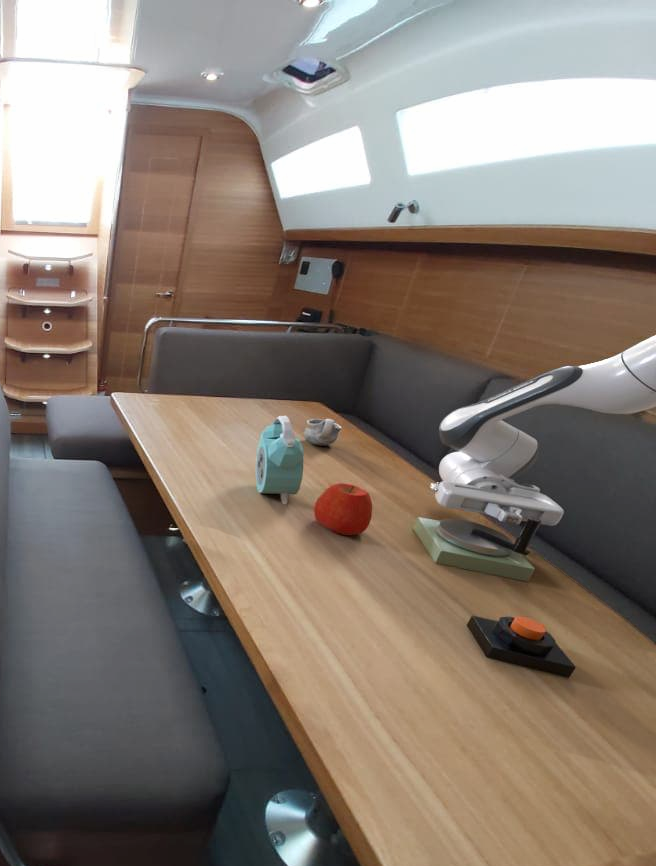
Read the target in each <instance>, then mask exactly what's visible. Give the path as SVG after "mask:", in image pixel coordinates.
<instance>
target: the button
mask: <svg viewBox="0 0 656 866" xmlns="http://www.w3.org/2000/svg"><path fill="white" fill-rule="evenodd" d="M514 618H515V619H514V621H513V622H512V624H511V626H510V628H511V629H512V630H513V631H515V632H516V633H517V634H519V635H521V636H524V637H526V638H528V639H532V640H537V641H539V640H541V638H542V637H543V635H544V634H545V632H546V631H547V628H546V626H544V624H542V623H541V622H538V621H537V620H535V619H532V618H530V617H527V616H523V615H522V616H519V615H518V616H515V617H514Z"/></svg>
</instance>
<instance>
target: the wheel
mask: <svg viewBox="0 0 656 866" xmlns="http://www.w3.org/2000/svg"><path fill="white" fill-rule="evenodd" d="M439 521H440V522H439V524H438V527H437V532H438V534H439V535H440V536H441V537H443V538H444V539H445V540H447V541H449V542H451V543H452V544H455V545H457V546H459V547H461V548H464V549H467V550H470V551H473V552H477V553H481V554H486V555H492V556H504V555H508V554H509V553H510V552H511V550H512V551H514V552H516V553H520V554H521V555H522V556H528V555H530V553H531V551H530V550H528V549H527V548H528V546H529V545H530V542H531V541H532V539H533V538H534V536H535V534H536V532H537V530H538V529H539V527H540V525H542V524H541V522H542V521H541V520H540V519H537V518H534V517H529V518H528V520H527V521H525V524H524V525H523V527H522V529H521V530H520V533H519V534H518V536H517V538H516V540H514V541H515V542H513V540H512V539H511V538H509V537H508V536H507V535H506V534H504V533H502V532H500V531H499V530H496V529H494V528H491V527H490V526H486V525H484V524H481V523H478V522H473V521H470V520H465V519H459V518H445V519H442V520H439Z"/></svg>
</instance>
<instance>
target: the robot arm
mask: <svg viewBox="0 0 656 866" xmlns="http://www.w3.org/2000/svg"><path fill="white" fill-rule="evenodd" d="M544 405H563V406H569V407H575V408H576V407H577V408H580V409H585V410H590V411H594V412H598V413H599V412H600V413H604V414H611V415H629V414H636V413H641V412H643V411H644V412H645V411H647V410H650V409H653V408H655V407H656V334H655V335H652V336H651V337H649V338H646V339H645V340H643V341H640V342H638V343H637V344H635V345H633V346H631V347H629V348H628V349H625V350H624V351H622V352H620V353H618V354H616V355H614V356H612V357H609V358H606V359H603V360H599V361H596V362H592V363H589V364H584V365H578V366H577V365H567V366H562V367H559V368H556V369H555V368H554V369H553V370H550V371H547V372H545V373H543V374H541V375H538V376H536V377H534V378H531V379H529V380H526V381H525V382H521V383H520V384H517V385H515V386H513V387H510V388H509V389H506V390H504V391H502V392H500V393H497V394H494V395H492V396H491V397H488V398H486V399H484V400H481V401H478V402H476V403H472V404H469V405H465V406H462V407H460V408H457V409H455V410H452V412H450V413H449V414H447V415H446V416H445V417H444V418H443V419H442V420H441V422H440V423H439V425H438V426H439V427H438V433H439V438H440V442H441V443H442V444H443V445H445V446H447V447H449V448H451V449H453V450H455V451H454V452H451V453H448V454H446V455H445V456H444V457H443V458H442V459H441V460H440V462H439V466H438V472H439V476H440V478H441V480H442V481H440V482H435V483H434V482H431V483H430V484H429V487H430V489H431V490H432V491H434V497H435V500H436V502H437V504H439V505H440V506H442V507H445V508H447V509H448V508H449V509H454V510H459V511H465V512H471V513H477V514H481V515H482V514H483V515H489V516H491V517H493V518H496V519H497V520H498V521H499V522H502V523H508V524H512V525H517V526H518V525H520V524H521V522H527V520H528V518H529V517H534V518H537V519H540V520H541V521H542V522H541V524H540V525H545V526H549V527H554V526H556V525H557V524H558V523H560V521H561V520H562V517H563V516H564V513H565V511H564V509H563V508H562V506H560V505H559V504H558V503H557V502H556V501H554V500H553V499H551V498H550V497H549V496H548V495H545V494H544V493H541V489H540V487H538V486H536V485H533V484H530V483H526V482H522V481H519V480H515V478H517V477H519V476H521V475H522V474H524V473H525V472H526V471H528V470H529V469H530V468H531V467H532V466H533V465H534V464H535V462H536V460H537V459H538V455H539V452H540V451H539V450H540V446H539V441H538V440H537V439H536V438H535V437H532V436H530V435H529V434H528V433H526V432H524V431H522V430H520V429H519V428H517V427H514V426H513V425H511V424H509V423H508V422H505V420H504V419H507V418H511V417H512V416H515V415H518V414H519V413H522V412H525V411H526V410H527V411H528V410H530V409H531V408H534V407H535V408H536V407H538V406H544Z"/></svg>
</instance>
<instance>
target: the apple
mask: <svg viewBox="0 0 656 866" xmlns="http://www.w3.org/2000/svg"><path fill="white" fill-rule="evenodd" d="M313 510H314V511H313V513H314V518H315V520H316V522H317V523H318V524H320V525H321V526H323V527H324V528H326V529H327V530H330V531H332V532H333V533H337V534H340V535H344V536H355V535H360V534H363V533H364V532H365V531H366V530H367V529H368V527H369V526H370V523H371V520H372V517H373V516H372V514H373V501H372V498H371V496H370V494H369V492H368V491H366V490H365V489H363V488H361V487H359V486H358V485H354V484H350V483H341V482H340V483H335V484H331V485H330V486H329V487H327V488H326V489H325V490H324V491H323V492H322V493H321V494H320V495H319V496H318V498H317V499H316V501H315V503H314V507H313Z"/></svg>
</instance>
